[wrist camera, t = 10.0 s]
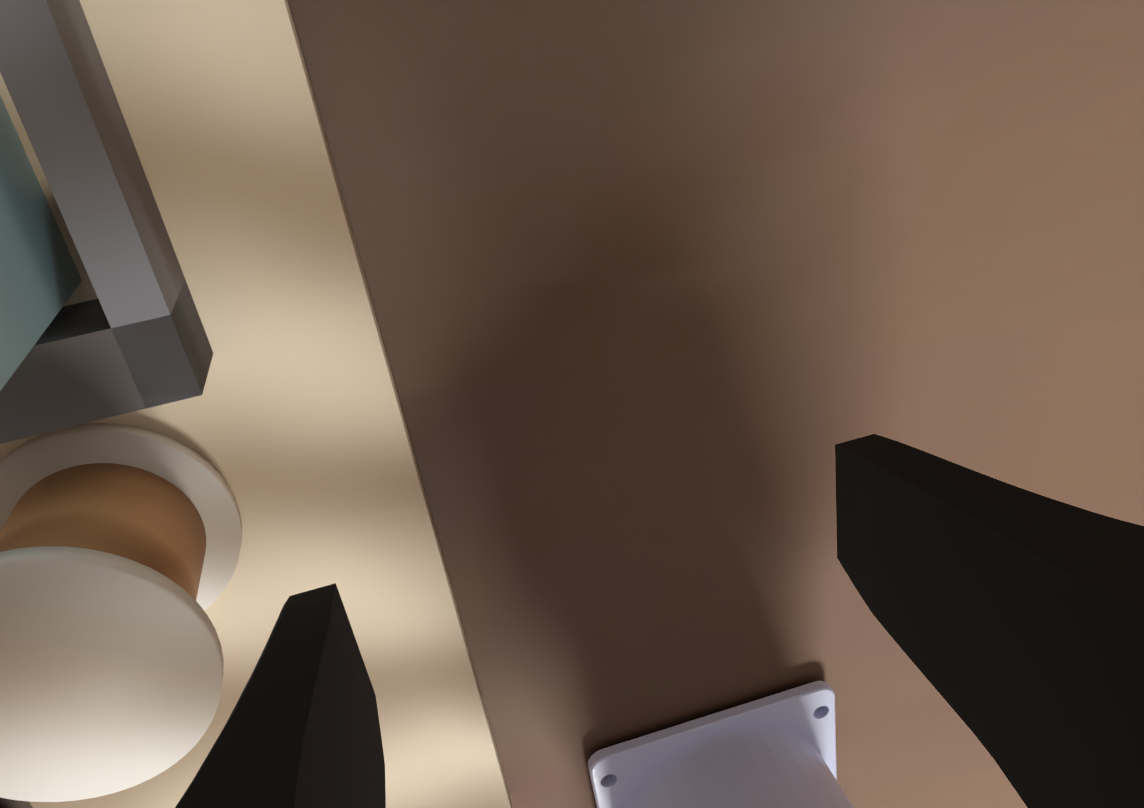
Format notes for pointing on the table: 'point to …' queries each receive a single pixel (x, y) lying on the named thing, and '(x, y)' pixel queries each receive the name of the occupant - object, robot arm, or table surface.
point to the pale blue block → (27, 255)
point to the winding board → (203, 420)
